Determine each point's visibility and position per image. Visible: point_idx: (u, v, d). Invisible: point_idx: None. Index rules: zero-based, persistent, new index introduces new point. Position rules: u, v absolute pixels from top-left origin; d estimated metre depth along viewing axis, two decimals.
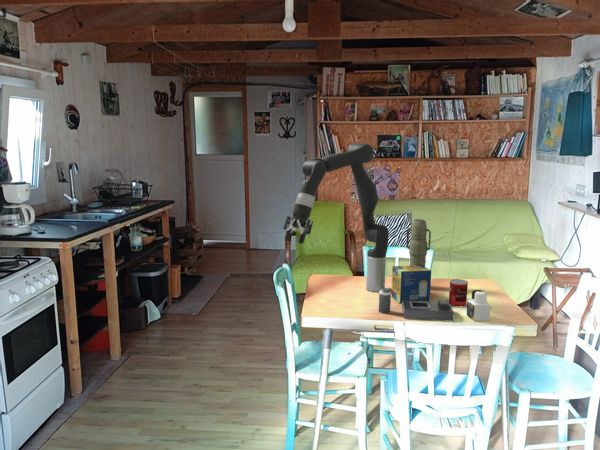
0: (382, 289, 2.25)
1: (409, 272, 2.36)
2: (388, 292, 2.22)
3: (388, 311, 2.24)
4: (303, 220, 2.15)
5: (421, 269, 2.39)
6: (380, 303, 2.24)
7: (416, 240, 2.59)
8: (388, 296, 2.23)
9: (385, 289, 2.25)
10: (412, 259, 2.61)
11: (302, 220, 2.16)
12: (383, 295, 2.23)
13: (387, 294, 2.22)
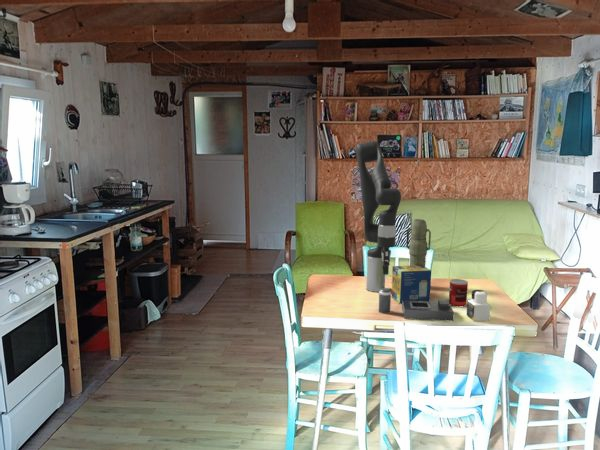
0: (382, 289, 2.25)
1: (409, 272, 2.36)
2: (388, 292, 2.22)
3: (388, 311, 2.24)
4: None
5: (421, 269, 2.39)
6: (380, 303, 2.24)
7: (416, 240, 2.59)
8: (388, 296, 2.23)
9: (385, 289, 2.25)
10: (412, 259, 2.61)
11: None
12: (383, 295, 2.23)
13: (387, 294, 2.22)
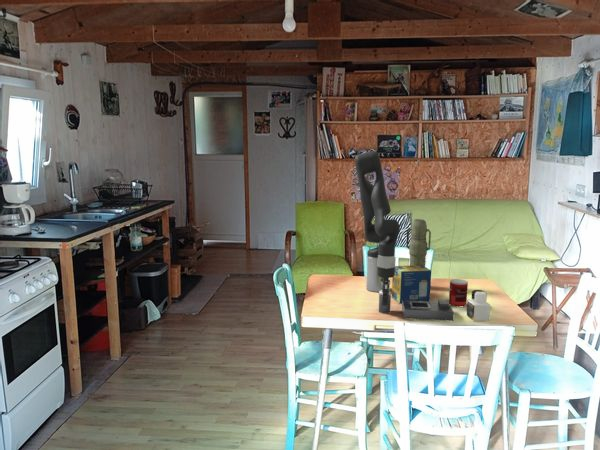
0: None
1: (409, 272, 2.36)
2: None
3: (388, 311, 2.24)
4: None
5: (421, 269, 2.39)
6: (380, 303, 2.24)
7: (416, 240, 2.59)
8: (388, 296, 2.23)
9: None
10: (412, 259, 2.61)
11: None
12: None
13: None
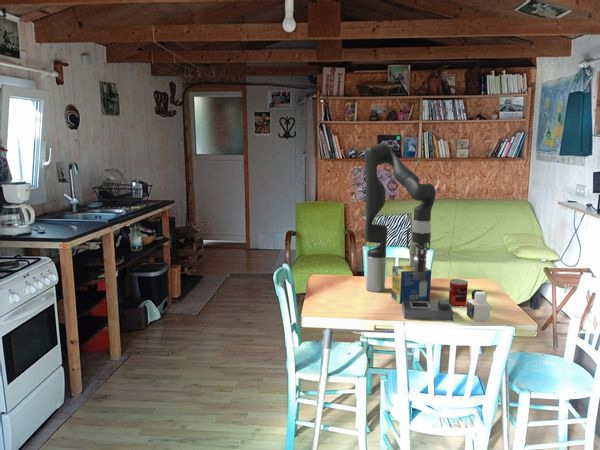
0: None
1: (409, 272, 2.36)
2: None
3: (423, 278, 2.19)
4: None
5: None
6: (415, 270, 2.19)
7: None
8: None
9: None
10: (412, 259, 2.61)
11: None
12: None
13: None
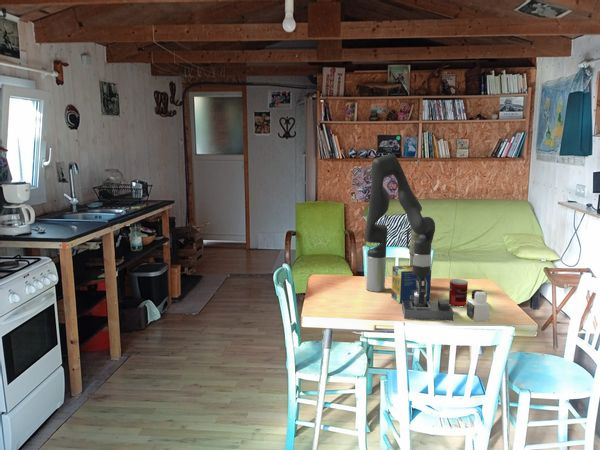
0: (417, 291, 2.22)
1: (409, 272, 2.36)
2: None
3: None
4: None
5: None
6: (415, 305, 2.22)
7: None
8: (424, 298, 2.20)
9: None
10: (412, 259, 2.61)
11: None
12: None
13: None
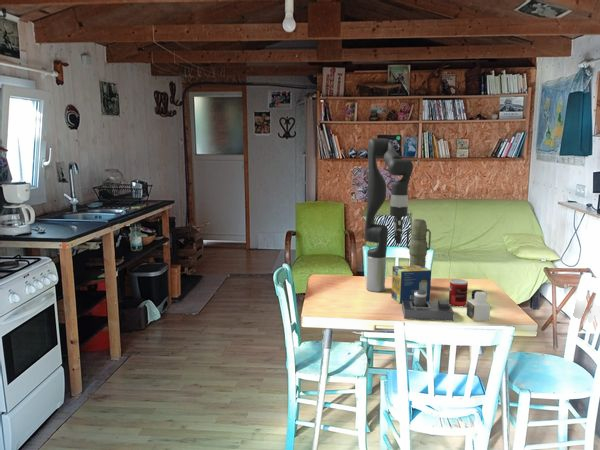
0: (417, 291, 2.22)
1: (409, 272, 2.36)
2: (424, 294, 2.20)
3: None
4: None
5: (421, 269, 2.39)
6: (415, 305, 2.22)
7: (416, 240, 2.59)
8: (424, 298, 2.20)
9: (420, 291, 2.22)
10: (412, 259, 2.61)
11: None
12: (418, 297, 2.20)
13: (423, 296, 2.20)
